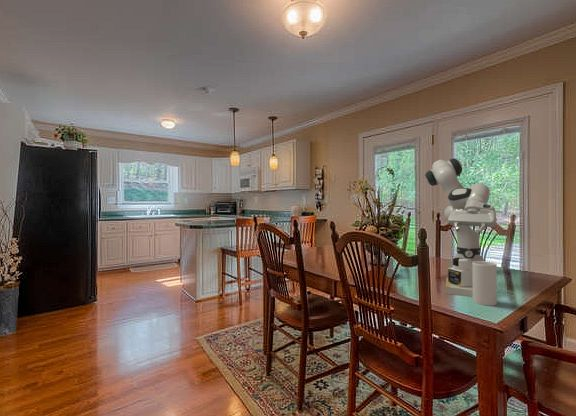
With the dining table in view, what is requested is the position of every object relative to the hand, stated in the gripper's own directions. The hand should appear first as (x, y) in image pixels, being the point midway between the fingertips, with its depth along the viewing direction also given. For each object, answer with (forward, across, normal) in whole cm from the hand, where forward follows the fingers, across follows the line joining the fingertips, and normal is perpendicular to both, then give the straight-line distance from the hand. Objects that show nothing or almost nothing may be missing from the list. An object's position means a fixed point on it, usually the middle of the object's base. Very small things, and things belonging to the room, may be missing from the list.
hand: (467, 231), depth 143 cm
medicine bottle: (+23, 0, +10) cm, 25 cm away
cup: (+32, +12, +6) cm, 35 cm away
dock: (+24, -1, +14) cm, 28 cm away
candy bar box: (+24, -38, +15) cm, 47 cm away
